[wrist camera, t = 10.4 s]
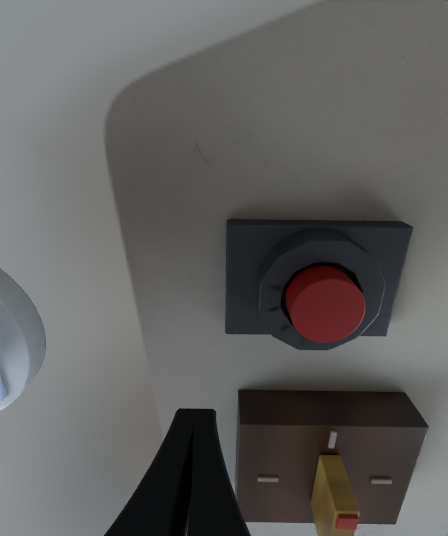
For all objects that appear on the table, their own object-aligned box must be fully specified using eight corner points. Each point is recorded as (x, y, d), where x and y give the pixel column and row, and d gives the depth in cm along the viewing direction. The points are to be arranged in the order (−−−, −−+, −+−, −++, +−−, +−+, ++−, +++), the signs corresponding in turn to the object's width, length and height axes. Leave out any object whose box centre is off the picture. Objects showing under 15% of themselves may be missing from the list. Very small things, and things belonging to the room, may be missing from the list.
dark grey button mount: (225, 323, 21) (225, 352, 18) (226, 218, 18) (226, 233, 15) (378, 326, 21) (401, 355, 18) (402, 221, 18) (434, 236, 15)
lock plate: (235, 482, 27) (235, 524, 24) (238, 389, 23) (239, 426, 20) (378, 484, 27) (396, 527, 24) (405, 392, 23) (431, 429, 20)
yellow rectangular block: (329, 502, 23) (347, 567, 20) (309, 502, 23) (324, 567, 20) (340, 454, 21) (362, 516, 18) (319, 454, 21) (337, 516, 18)
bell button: (282, 324, 18) (288, 342, 16) (288, 264, 16) (294, 278, 15) (347, 324, 18) (359, 343, 16) (358, 265, 16) (372, 279, 15)
